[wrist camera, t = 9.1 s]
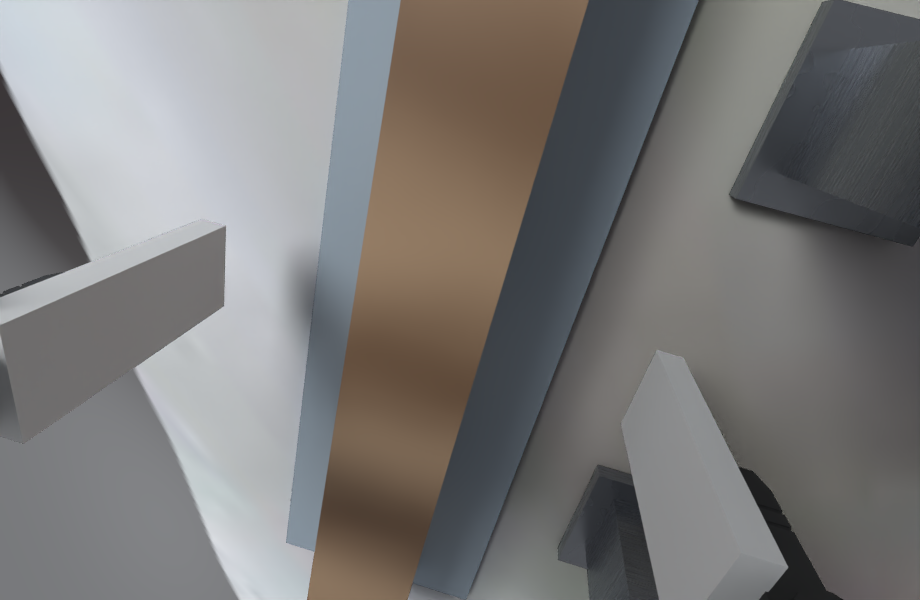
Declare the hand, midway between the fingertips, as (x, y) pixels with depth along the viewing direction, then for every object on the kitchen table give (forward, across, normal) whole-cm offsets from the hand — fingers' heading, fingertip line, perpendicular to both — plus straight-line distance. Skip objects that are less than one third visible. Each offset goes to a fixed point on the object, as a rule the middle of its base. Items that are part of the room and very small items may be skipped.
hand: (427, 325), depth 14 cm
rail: (+2, 0, 0) cm, 2 cm away
